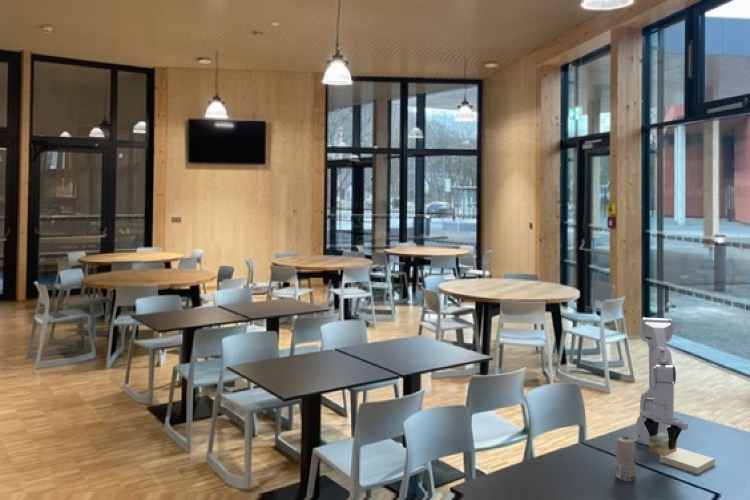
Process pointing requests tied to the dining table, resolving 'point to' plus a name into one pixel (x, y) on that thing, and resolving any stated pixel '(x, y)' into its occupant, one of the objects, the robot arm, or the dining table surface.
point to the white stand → (688, 460)
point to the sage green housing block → (660, 444)
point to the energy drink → (625, 458)
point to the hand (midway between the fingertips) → (662, 446)
